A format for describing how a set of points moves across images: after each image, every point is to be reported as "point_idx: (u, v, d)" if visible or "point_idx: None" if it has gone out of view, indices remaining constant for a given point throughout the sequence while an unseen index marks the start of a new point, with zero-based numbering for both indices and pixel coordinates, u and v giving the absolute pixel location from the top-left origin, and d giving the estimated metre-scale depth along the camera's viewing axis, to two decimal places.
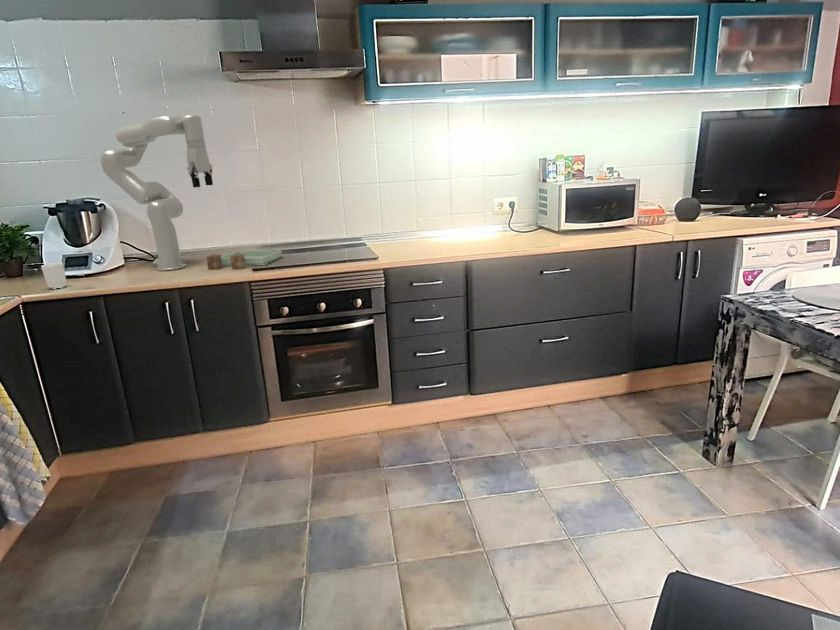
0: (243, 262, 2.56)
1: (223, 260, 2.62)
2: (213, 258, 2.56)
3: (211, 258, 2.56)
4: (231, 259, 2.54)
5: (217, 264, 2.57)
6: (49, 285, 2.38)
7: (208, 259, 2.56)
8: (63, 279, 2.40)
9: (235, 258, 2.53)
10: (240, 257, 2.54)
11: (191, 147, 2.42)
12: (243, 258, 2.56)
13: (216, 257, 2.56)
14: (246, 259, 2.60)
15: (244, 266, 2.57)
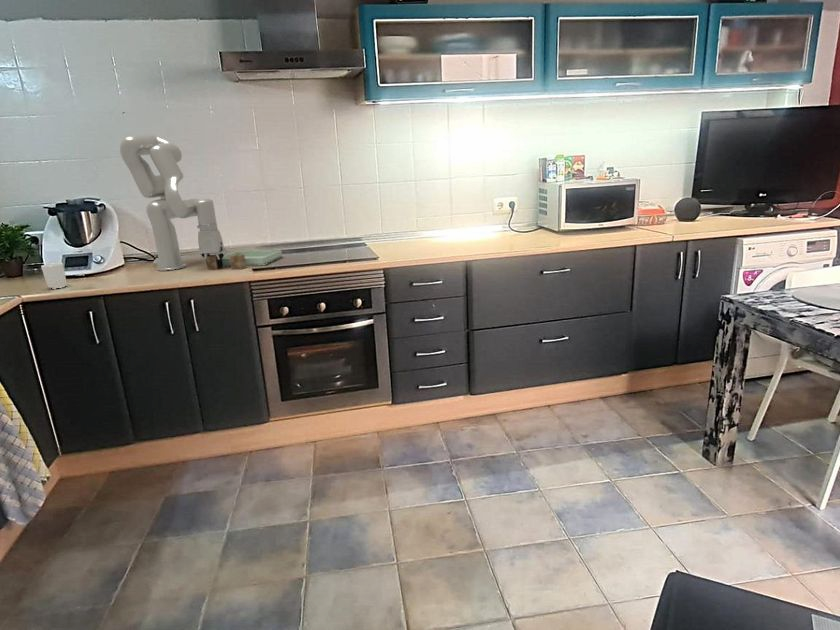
0: (243, 262, 2.56)
1: (223, 260, 2.62)
2: (213, 258, 2.56)
3: (211, 258, 2.56)
4: (231, 259, 2.54)
5: None
6: (49, 285, 2.38)
7: (208, 259, 2.56)
8: (63, 279, 2.40)
9: (235, 258, 2.53)
10: (240, 257, 2.54)
11: (216, 228, 2.53)
12: (243, 258, 2.56)
13: (216, 257, 2.56)
14: (246, 259, 2.60)
15: (244, 266, 2.57)
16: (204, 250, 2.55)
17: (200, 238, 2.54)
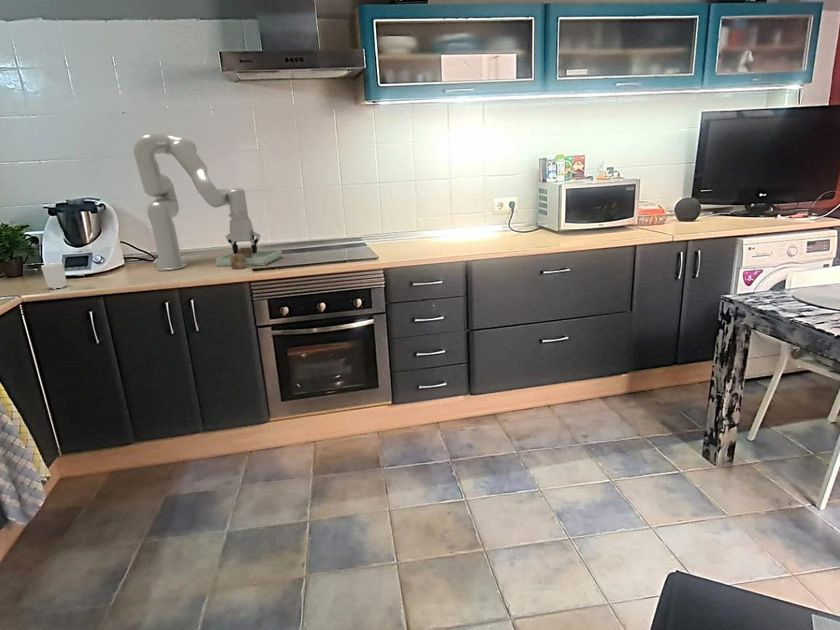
0: (243, 262, 2.56)
1: (223, 260, 2.62)
2: (244, 251, 2.63)
3: (242, 251, 2.63)
4: (231, 259, 2.54)
5: (248, 257, 2.64)
6: (49, 285, 2.38)
7: (239, 252, 2.63)
8: (63, 279, 2.40)
9: (235, 258, 2.53)
10: (240, 257, 2.54)
11: (247, 217, 2.60)
12: (244, 258, 2.56)
13: (247, 250, 2.63)
14: (246, 259, 2.60)
15: (244, 266, 2.57)
16: (236, 238, 2.61)
17: (231, 226, 2.60)
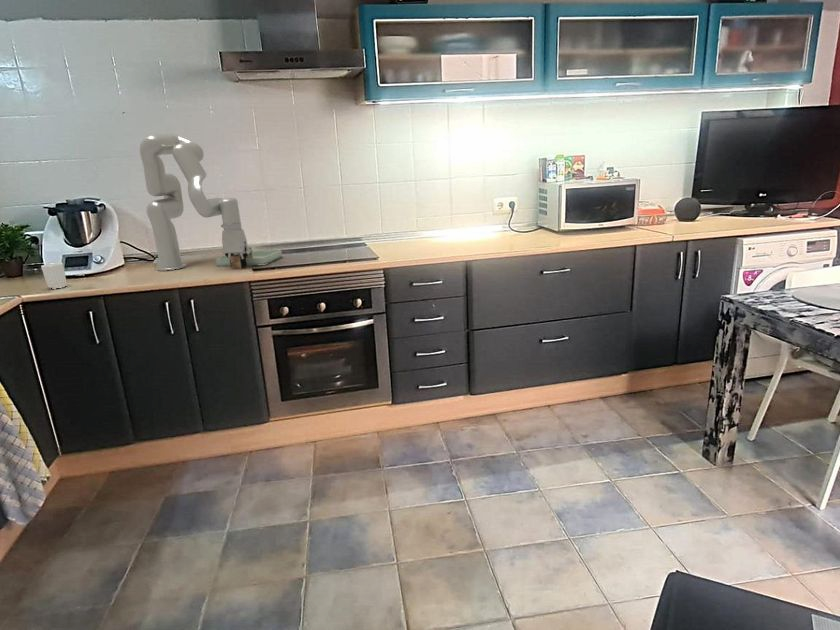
0: None
1: (223, 260, 2.62)
2: None
3: None
4: (231, 259, 2.54)
5: (248, 257, 2.64)
6: (49, 285, 2.38)
7: None
8: (63, 279, 2.40)
9: (235, 258, 2.53)
10: (240, 257, 2.54)
11: (240, 228, 2.51)
12: None
13: None
14: (246, 259, 2.60)
15: None
16: (228, 250, 2.52)
17: (224, 237, 2.51)
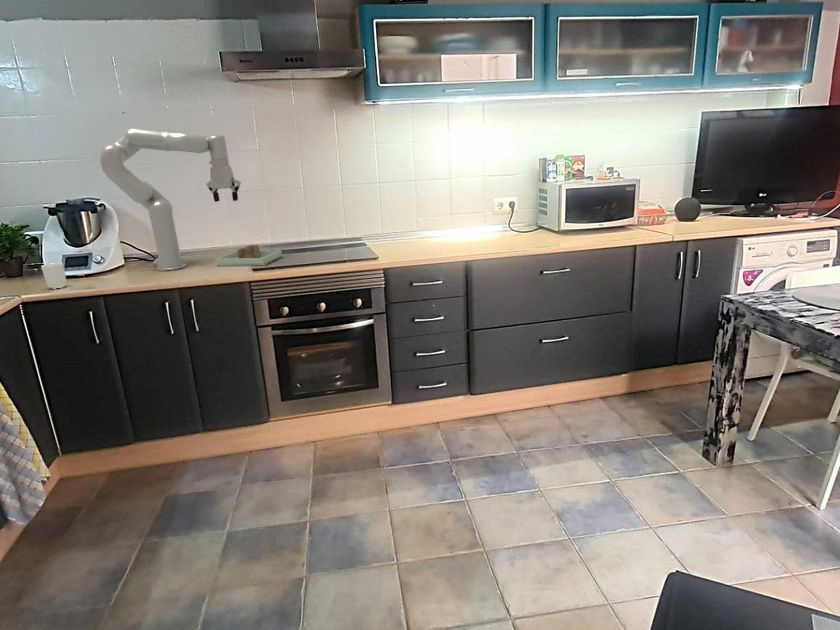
0: (258, 252, 2.72)
1: (223, 260, 2.62)
2: (244, 251, 2.63)
3: (242, 251, 2.63)
4: None
5: (248, 257, 2.64)
6: (49, 285, 2.38)
7: (239, 252, 2.63)
8: (63, 279, 2.40)
9: None
10: (255, 247, 2.69)
11: (227, 164, 2.62)
12: (258, 248, 2.72)
13: (247, 250, 2.63)
14: (246, 259, 2.60)
15: (258, 256, 2.73)
16: (216, 185, 2.63)
17: (212, 173, 2.62)
